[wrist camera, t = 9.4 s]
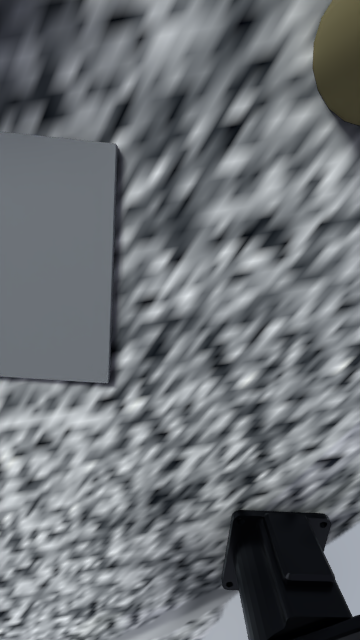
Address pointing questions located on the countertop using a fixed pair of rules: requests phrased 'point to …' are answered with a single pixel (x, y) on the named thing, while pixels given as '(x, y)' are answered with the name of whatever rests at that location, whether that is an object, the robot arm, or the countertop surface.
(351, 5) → the olive brown pear
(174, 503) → the countertop surface
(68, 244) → the mat
